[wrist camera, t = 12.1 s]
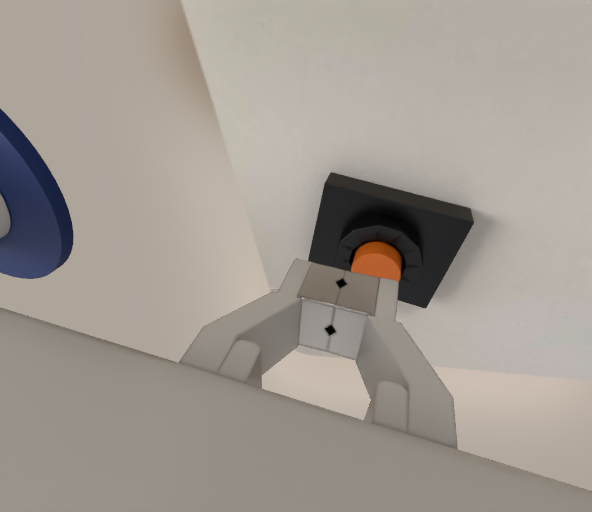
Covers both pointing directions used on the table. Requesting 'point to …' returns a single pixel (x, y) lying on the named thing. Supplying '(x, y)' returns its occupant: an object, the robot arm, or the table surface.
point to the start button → (377, 260)
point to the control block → (390, 232)
